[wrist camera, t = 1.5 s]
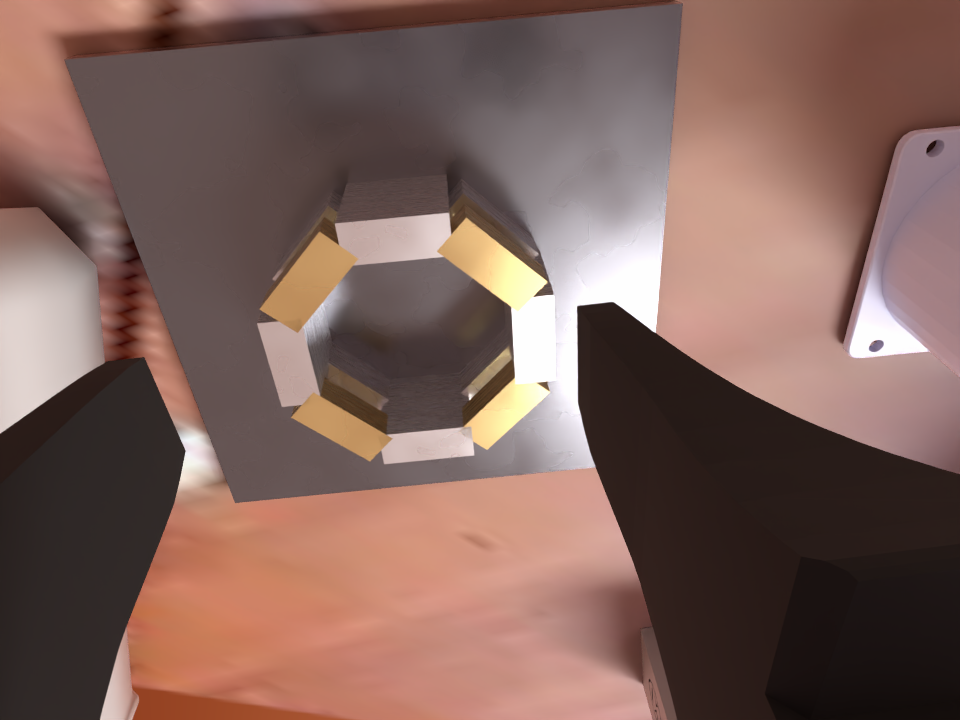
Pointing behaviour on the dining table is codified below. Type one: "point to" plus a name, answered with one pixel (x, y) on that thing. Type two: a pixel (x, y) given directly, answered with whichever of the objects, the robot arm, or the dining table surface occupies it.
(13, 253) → the tube
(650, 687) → the dice cube
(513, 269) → the collar stand
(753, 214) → the dining table surface
